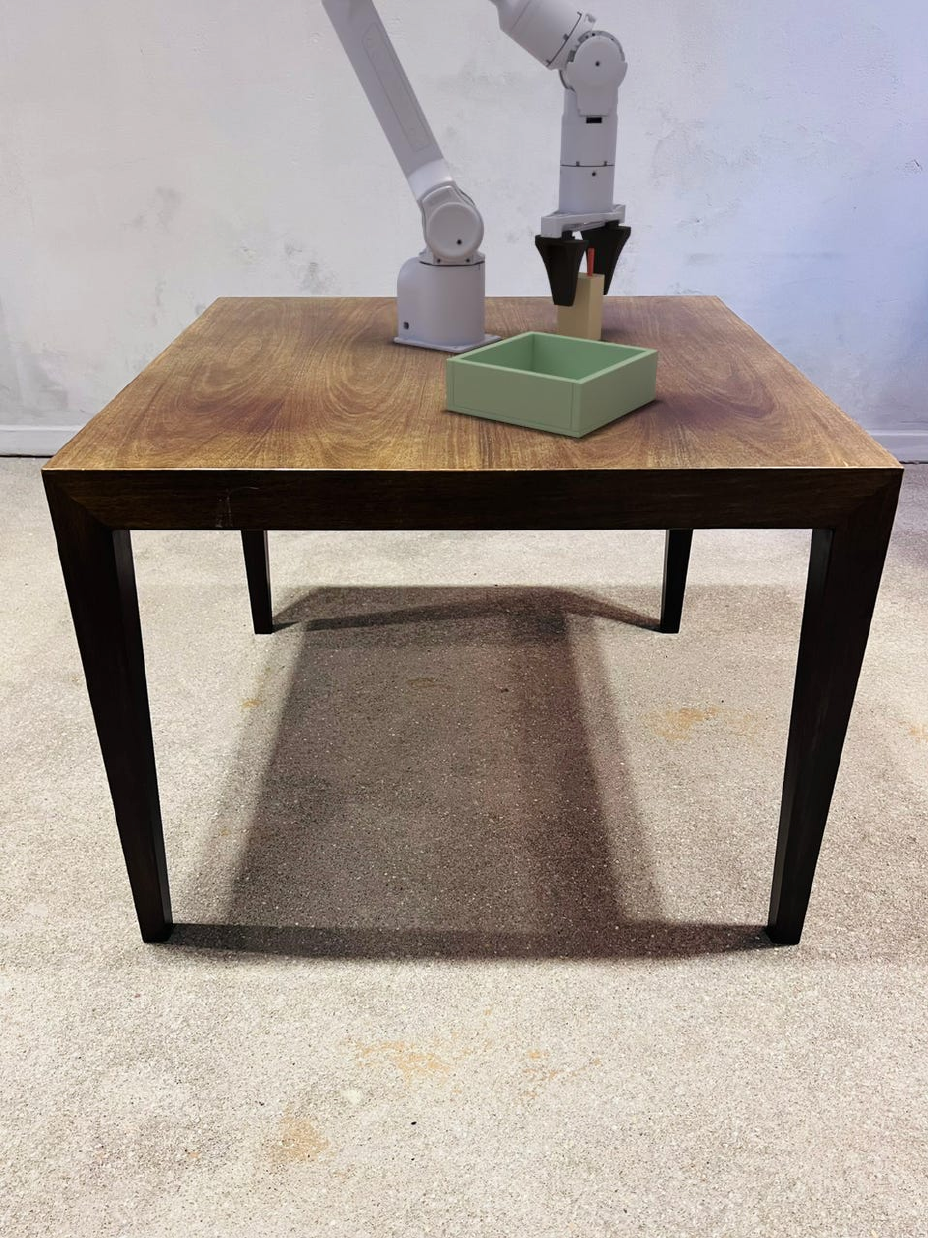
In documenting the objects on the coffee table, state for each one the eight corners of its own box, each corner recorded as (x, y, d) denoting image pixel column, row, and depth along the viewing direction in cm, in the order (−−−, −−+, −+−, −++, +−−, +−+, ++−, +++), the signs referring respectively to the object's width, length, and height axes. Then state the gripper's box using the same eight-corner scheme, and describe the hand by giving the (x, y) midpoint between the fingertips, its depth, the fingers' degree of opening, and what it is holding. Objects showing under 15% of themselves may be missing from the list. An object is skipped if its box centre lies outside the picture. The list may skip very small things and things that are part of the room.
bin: (446, 409, 87) (445, 359, 85) (529, 376, 97) (530, 330, 95) (578, 438, 80) (581, 383, 78) (654, 399, 90) (658, 349, 88)
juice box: (556, 339, 111) (560, 247, 106) (570, 334, 113) (574, 244, 108) (587, 344, 109) (592, 250, 104) (600, 339, 111) (606, 247, 106)
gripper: (585, 171, 95) (579, 314, 101) (653, 161, 105) (643, 292, 112) (524, 168, 99) (522, 307, 105) (596, 159, 109) (589, 286, 115)
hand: (581, 299), depth 109 cm, fingers open, 7 cm apart
